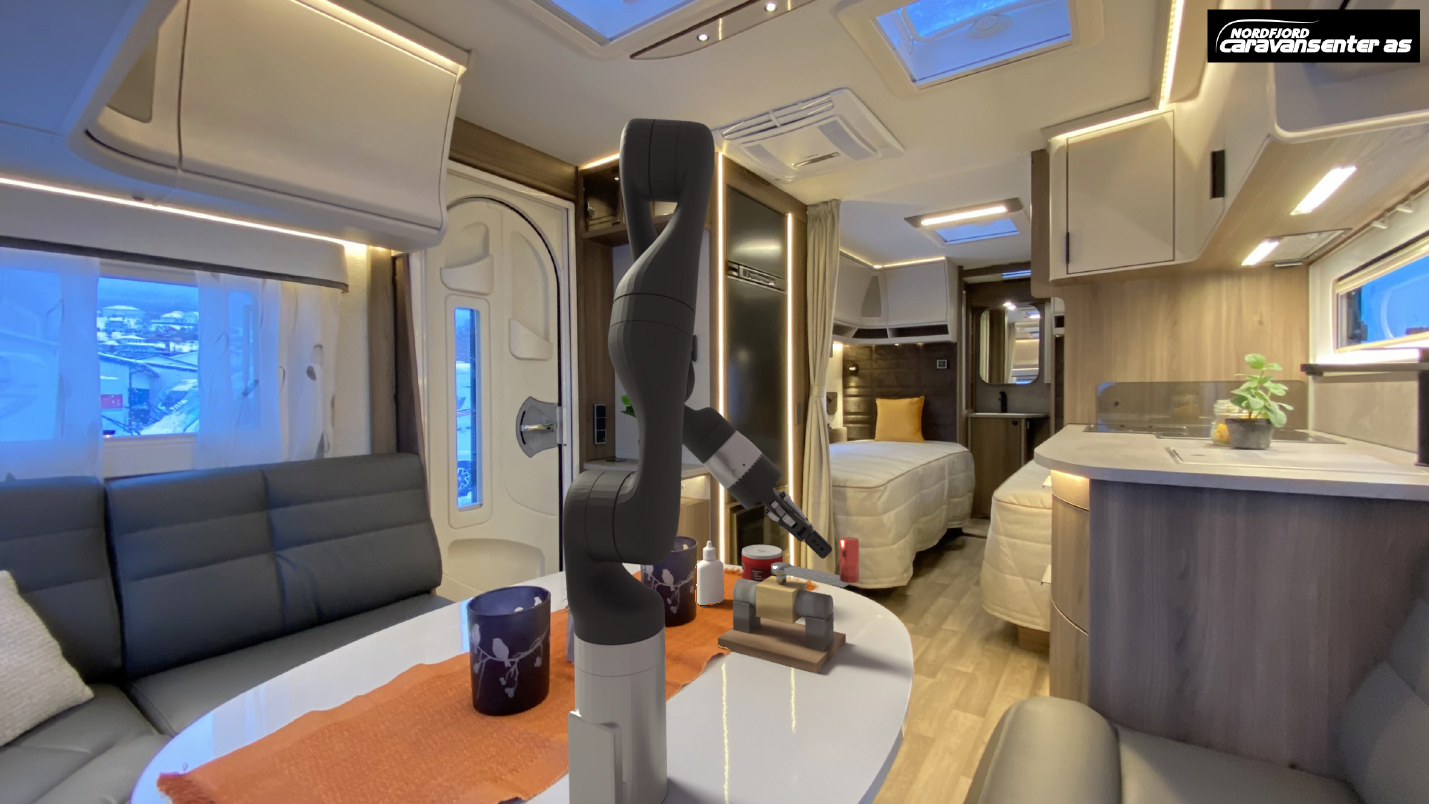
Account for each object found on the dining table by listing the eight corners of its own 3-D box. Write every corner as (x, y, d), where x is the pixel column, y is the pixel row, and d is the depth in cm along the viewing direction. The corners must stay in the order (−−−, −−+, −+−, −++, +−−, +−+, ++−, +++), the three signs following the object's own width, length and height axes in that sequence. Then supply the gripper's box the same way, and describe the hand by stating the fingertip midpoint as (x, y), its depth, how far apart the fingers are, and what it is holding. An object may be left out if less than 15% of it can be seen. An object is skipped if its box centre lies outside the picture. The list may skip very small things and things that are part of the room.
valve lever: (767, 582, 95) (766, 528, 95) (778, 577, 97) (778, 524, 97) (853, 603, 85) (852, 543, 85) (863, 596, 88) (862, 538, 87)
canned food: (762, 597, 117) (761, 542, 117) (792, 608, 111) (791, 550, 111) (733, 606, 112) (732, 549, 112) (763, 618, 106) (762, 558, 106)
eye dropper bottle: (695, 599, 117) (694, 538, 116) (723, 598, 117) (722, 538, 117) (695, 607, 112) (695, 544, 112) (725, 606, 113) (724, 543, 112)
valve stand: (816, 673, 86) (815, 605, 85) (717, 647, 95) (717, 585, 95) (845, 643, 96) (845, 581, 95) (754, 621, 105) (753, 566, 105)
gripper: (761, 455, 79) (854, 546, 79) (759, 447, 92) (838, 525, 92) (722, 494, 80) (814, 586, 79) (725, 480, 93) (804, 558, 92)
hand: (827, 553), depth 85 cm, fingers closed
